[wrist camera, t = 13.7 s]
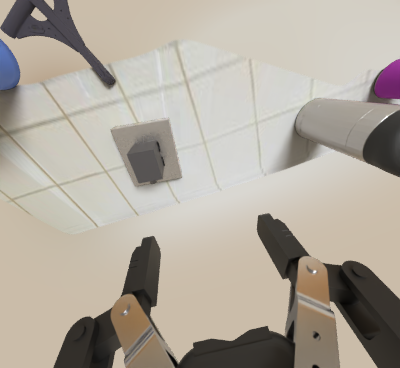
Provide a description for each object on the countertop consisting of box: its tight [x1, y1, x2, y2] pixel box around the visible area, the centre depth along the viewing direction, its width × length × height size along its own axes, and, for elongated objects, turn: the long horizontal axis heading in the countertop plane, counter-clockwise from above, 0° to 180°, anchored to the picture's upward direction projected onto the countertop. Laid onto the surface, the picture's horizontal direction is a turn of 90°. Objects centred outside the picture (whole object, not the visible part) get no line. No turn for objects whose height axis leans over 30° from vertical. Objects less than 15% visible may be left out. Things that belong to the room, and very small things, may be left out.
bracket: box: [0, 0, 115, 85], centre depth 26 cm, size 14×15×3 cm
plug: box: [127, 140, 164, 184], centre depth 35 cm, size 5×8×8 cm, turn 8°
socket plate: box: [111, 117, 182, 186], centre depth 37 cm, size 12×14×3 cm
